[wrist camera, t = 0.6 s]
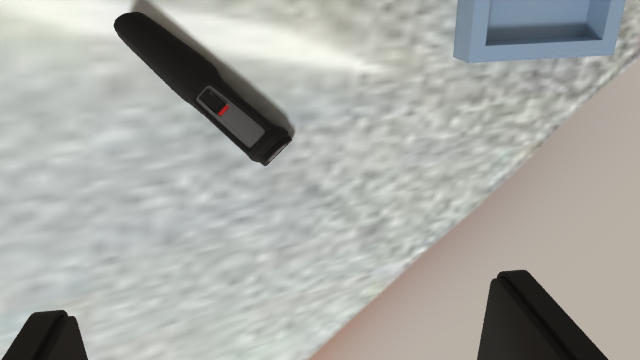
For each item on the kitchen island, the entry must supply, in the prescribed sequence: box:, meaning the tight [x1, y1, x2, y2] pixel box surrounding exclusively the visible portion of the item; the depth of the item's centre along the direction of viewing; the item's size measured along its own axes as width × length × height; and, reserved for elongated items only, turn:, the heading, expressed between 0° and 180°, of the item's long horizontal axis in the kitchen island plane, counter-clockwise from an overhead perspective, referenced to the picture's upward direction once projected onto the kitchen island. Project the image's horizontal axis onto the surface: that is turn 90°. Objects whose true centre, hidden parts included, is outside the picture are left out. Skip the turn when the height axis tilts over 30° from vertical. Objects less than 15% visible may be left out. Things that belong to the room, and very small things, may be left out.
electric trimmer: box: [114, 12, 292, 166], centre depth 36 cm, size 4×16×3 cm, turn 44°
